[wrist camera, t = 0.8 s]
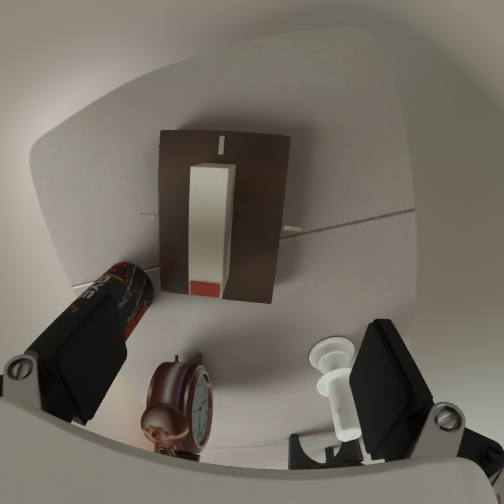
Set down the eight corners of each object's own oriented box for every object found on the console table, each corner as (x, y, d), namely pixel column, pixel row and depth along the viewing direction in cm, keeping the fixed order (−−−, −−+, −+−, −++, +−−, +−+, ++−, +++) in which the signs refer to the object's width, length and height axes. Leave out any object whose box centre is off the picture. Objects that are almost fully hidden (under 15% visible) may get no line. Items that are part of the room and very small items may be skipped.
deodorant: (131, 252, 27) (39, 341, 13) (164, 299, 28) (100, 407, 14) (97, 276, 28) (14, 358, 14) (128, 317, 30) (64, 413, 16)
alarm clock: (218, 399, 34) (199, 496, 20) (184, 396, 34) (156, 488, 20) (206, 338, 30) (171, 455, 16) (166, 336, 30) (116, 442, 16)
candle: (341, 328, 28) (369, 416, 17) (360, 355, 30) (388, 436, 19) (300, 351, 30) (309, 441, 19) (322, 376, 31) (336, 458, 20)
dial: (204, 162, 20) (189, 166, 16) (236, 164, 20) (228, 168, 16) (200, 271, 23) (187, 296, 20) (229, 274, 23) (221, 300, 19)
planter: (276, 452, 39) (274, 539, 22) (295, 414, 34) (299, 526, 18) (345, 452, 39) (356, 532, 22) (375, 414, 34) (400, 511, 18)
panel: (155, 132, 22) (141, 130, 19) (306, 140, 22) (312, 139, 19) (156, 274, 27) (144, 289, 24) (287, 289, 27) (289, 306, 24)
